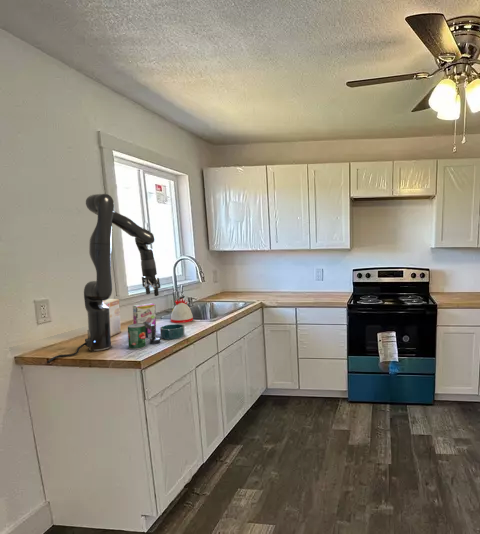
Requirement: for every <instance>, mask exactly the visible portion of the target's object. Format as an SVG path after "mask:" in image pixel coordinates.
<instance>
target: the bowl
mask: <svg viewBox="0 0 480 534" xmlns="http://www.w3.org/2000/svg"><path fill="white" fill-rule="evenodd" d="M185 329H186V328H185V325H184V324H183V323H182V324H181V323H172V324H166V325H165V324H164V325H162V326H160V327H159V330H160V331H159V332H160V339H163V340H177V339H180V338H182V337H184V336H186V332H185V331H186V330H185Z"/></svg>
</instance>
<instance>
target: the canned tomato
mask: <svg viewBox="0 0 480 534" xmlns="http://www.w3.org/2000/svg"><path fill="white" fill-rule="evenodd" d="M146 342H147V338H146V336H145V324H143V323H137V324H133V323H132V324H128V325H127V343H128V349H129V350H140V349H144V348H146V347H147V343H146Z"/></svg>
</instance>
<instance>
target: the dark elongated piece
mask: <svg viewBox="0 0 480 534" xmlns="http://www.w3.org/2000/svg"><path fill="white" fill-rule="evenodd" d="M143 324H145V336H146V339H148V338H149V333H148V329H150V330H151V333H150V334H151V336H150V338H149V344H150V345H158V344H160V343H161V337H156V332H155V325H154V324H151V323H149V322H147V321H145V322H143Z"/></svg>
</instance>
